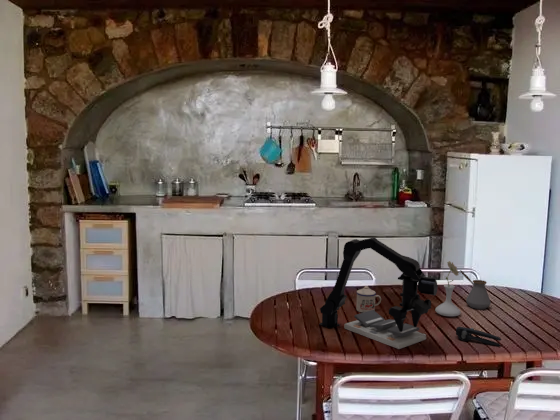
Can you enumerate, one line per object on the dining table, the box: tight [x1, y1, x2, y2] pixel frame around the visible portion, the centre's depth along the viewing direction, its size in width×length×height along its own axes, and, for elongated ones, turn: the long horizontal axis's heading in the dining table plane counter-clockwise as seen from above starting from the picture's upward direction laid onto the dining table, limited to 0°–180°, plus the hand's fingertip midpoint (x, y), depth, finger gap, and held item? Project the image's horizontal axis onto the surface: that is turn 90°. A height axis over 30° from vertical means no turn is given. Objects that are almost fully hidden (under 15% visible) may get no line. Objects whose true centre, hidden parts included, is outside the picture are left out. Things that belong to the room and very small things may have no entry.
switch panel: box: [343, 319, 427, 350], centre depth 227 cm, size 18×29×3 cm, turn 40°
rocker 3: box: [387, 322, 420, 336], centre depth 220 cm, size 12×7×1 cm, turn 130°
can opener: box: [455, 326, 502, 347], centre depth 220 cm, size 18×7×6 cm, turn 59°
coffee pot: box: [458, 269, 492, 310], centre depth 270 cm, size 21×12×15 cm, turn 19°
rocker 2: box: [370, 319, 397, 328], centre depth 227 cm, size 12×7×1 cm, turn 130°
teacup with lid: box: [355, 285, 382, 313], centre depth 257 cm, size 12×9×12 cm
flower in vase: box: [435, 260, 462, 317], centre depth 253 cm, size 13×11×25 cm
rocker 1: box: [353, 310, 386, 327], centre depth 234 cm, size 12×7×1 cm, turn 130°
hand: (408, 329), depth 218 cm, fingers open, 9 cm apart
